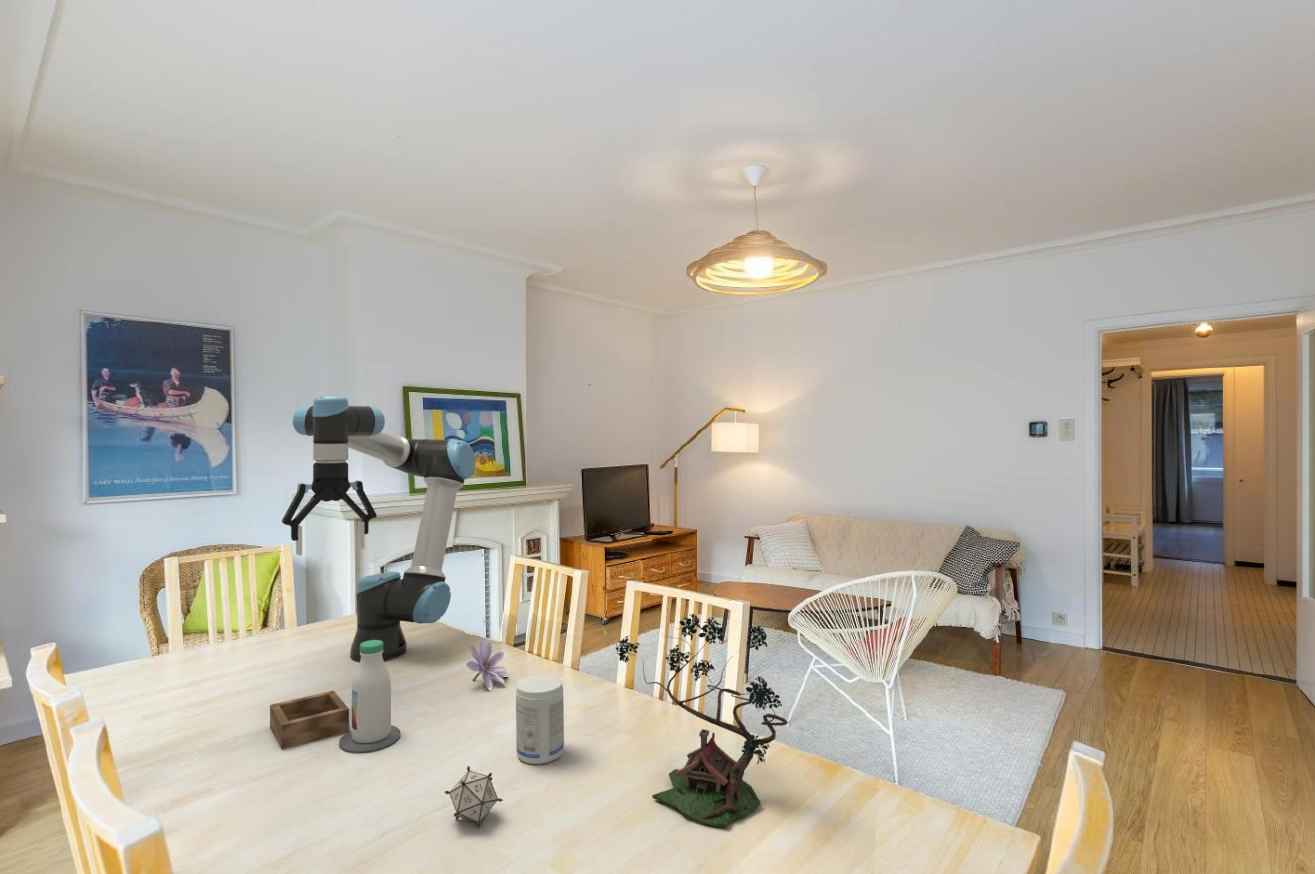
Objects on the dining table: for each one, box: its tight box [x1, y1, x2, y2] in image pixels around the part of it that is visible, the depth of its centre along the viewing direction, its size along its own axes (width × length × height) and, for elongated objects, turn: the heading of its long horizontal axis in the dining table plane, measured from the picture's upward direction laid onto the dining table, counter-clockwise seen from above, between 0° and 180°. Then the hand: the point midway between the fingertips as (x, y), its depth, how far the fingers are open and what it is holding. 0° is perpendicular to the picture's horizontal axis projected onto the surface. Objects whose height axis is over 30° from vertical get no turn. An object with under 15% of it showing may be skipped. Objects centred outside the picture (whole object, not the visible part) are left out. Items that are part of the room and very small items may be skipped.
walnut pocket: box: [269, 690, 350, 750], centre depth 148 cm, size 13×13×5 cm
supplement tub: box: [515, 674, 565, 765], centre depth 137 cm, size 10×10×15 cm
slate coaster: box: [338, 724, 401, 754], centre depth 143 cm, size 12×12×1 cm
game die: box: [444, 765, 504, 829], centre depth 114 cm, size 9×8×10 cm
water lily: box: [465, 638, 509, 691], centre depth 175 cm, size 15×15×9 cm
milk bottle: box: [351, 640, 392, 743], centre depth 143 cm, size 8×8×20 cm
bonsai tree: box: [615, 613, 789, 828], centre depth 126 cm, size 35×24×32 cm
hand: (330, 551), depth 160 cm, fingers open, 13 cm apart
